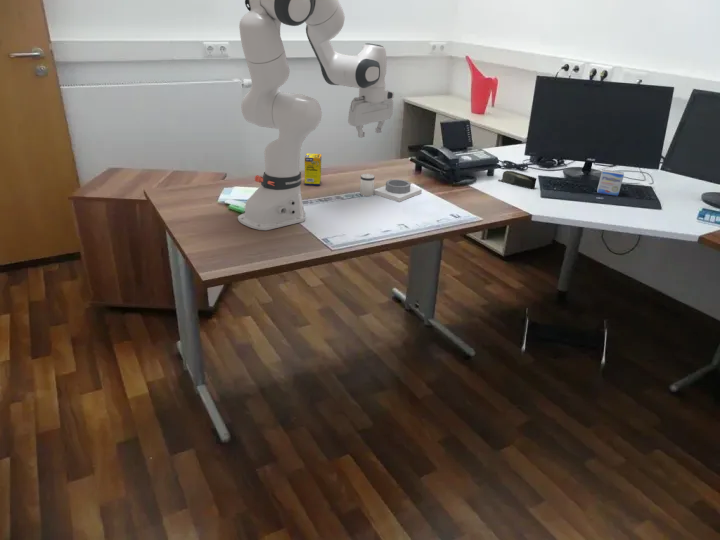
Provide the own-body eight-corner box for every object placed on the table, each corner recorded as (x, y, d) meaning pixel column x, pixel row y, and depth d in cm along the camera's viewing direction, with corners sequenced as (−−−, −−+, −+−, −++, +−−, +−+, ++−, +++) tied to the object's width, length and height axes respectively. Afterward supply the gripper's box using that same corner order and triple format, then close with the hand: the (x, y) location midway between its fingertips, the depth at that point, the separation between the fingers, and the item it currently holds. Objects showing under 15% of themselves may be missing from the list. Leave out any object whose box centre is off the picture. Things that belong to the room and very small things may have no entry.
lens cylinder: (367, 197, 202) (368, 178, 198) (357, 193, 204) (357, 175, 201) (376, 194, 205) (377, 175, 202) (365, 190, 208) (366, 172, 205)
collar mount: (399, 202, 199) (399, 191, 197) (373, 193, 205) (373, 183, 203) (421, 193, 208) (422, 183, 206) (396, 185, 215) (396, 175, 213)
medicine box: (596, 193, 218) (602, 171, 214) (597, 189, 222) (602, 168, 218) (618, 196, 215) (624, 174, 211) (618, 192, 219) (623, 171, 215)
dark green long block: (537, 177, 218) (502, 168, 225) (534, 178, 216) (499, 169, 223) (535, 189, 220) (500, 179, 228) (532, 190, 218) (497, 181, 226)
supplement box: (320, 186, 210) (320, 158, 205) (304, 185, 210) (304, 157, 205) (321, 181, 216) (321, 153, 211) (306, 180, 216) (306, 153, 211)
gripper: (358, 99, 180) (357, 141, 186) (397, 92, 193) (394, 132, 200) (344, 96, 183) (343, 138, 190) (383, 90, 197) (381, 128, 203)
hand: (369, 135), depth 195 cm, fingers open, 8 cm apart
